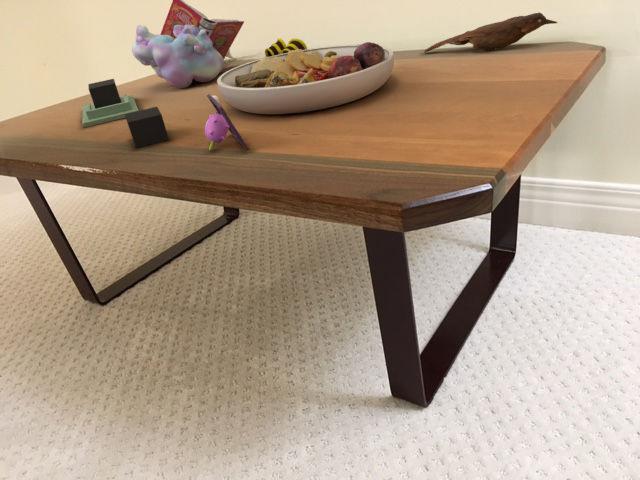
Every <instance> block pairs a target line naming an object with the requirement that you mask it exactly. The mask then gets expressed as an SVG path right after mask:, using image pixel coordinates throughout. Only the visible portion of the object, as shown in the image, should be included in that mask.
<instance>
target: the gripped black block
mask: <svg viewBox="0 0 640 480" xmlns="http://www.w3.org/2000/svg"><path fill="white" fill-rule="evenodd" d="M125 117H126V118H125V120H126V122H127V126H128V129H129V131H130V135H131V139H132V141H133V144H134V148H135V149H141V148H143V147H148V146H151V145H155V144H158V143H160V144H161V143H163V142H167V141H170V138H169V135H168V132H167V131H168V130H167V128H166V124H165V122H164V117H163V115H162V113H161V111H160V109H159V107H158V106H154V107H149V108H144V109H141V110H139V111H136V112H132V113H127V114H125Z"/></svg>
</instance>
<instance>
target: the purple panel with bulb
mask: <svg viewBox="0 0 640 480" xmlns="http://www.w3.org/2000/svg"><path fill="white" fill-rule="evenodd" d="M206 97H207V98H208V100H209V102H210V103H211V105H212V106H213V107H214V109H215V111H216V112H215V113H213V114H209V117H208V119H207V121H206V123H205V126H204V135H205V137H206V139H207V140H208V141H209V142H210V144H209V146H208V147H209V149H208V151H209V152H212V151H213V149H214V147H215V145H216V144H221V143H222V142H223V141H225V139H226V137H227V135H228V132H230V134H231V135H232V137H233V138H235V140H236V141H237V142H238V143H239V144H240V145H241V146H242V148H244V150H245V152H246V151H249V147H248V146H247V144H246V142H245V141H244V139H243V138H242V136H241V134H240V133H239V131H238V130H237V128H236V127H235V125H234V123H233V122H232V120H231V119H230V117H229V116H228V113H226V111H225V109H224V108H223V106H222V105H221V104H220V99H219V97H218V96H217V95H211V94H209V93H208V94H206Z"/></svg>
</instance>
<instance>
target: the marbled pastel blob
mask: <svg viewBox="0 0 640 480" xmlns="http://www.w3.org/2000/svg"><path fill="white" fill-rule="evenodd" d="M244 23H245V21H244V20H238V19H225V18H223V19H222V18H219V19H218V18H212V19H209V17H208V16H207V15H206V14H204V13H203V12H201V11H199V10H198V9H196V8H195V7H193V6H191V5H189V4H188V3H187V2H186V1H184V0H172V1H171V4H170V8H169V9H168V13H167V15H166V18H165V21H164V23H163V25H162V29H161V32H160V34H154V33H152V32H150V31H149V28H148V27H147V26H146V25H140V24H139V25H137V26H136V28H135V34H136V36H135V41H134V42H133V44H132V48H131V53H132V55H133V57H134V58H135V59H136V60H137V61H138V62H139V63H140V64H141V65H143V66H146V67H147V66H150V68H152V69H153V70H154V73H155V74H156V75H157V77H159V78H161V79H164V80H165V81H167V83H168V84H170V85H171V86H172V87H175V88H177V89H186V88H188V87H190V85H191V84H192V81H193V80H194V81H196V82H198V83H209V82H210V81H212V80H214V79H215V78H216V77H217V76H218V75H219V74H221V73H223V72H224V71H225V69H226V62H225V59H223V58H224V57H225V56H226V54H227V52H228V50H229V48H231V47H232V45H233V44H234V41H235V40H236V38H237V36H238V34H239V33H240V30H241V29H242V27H243V25H244ZM225 58H226V57H225Z"/></svg>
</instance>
